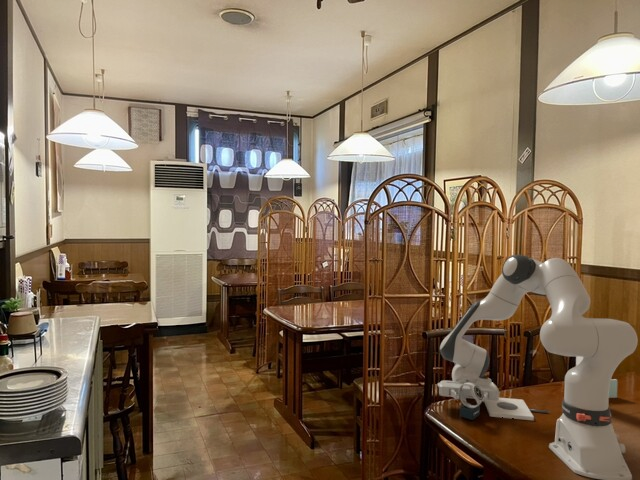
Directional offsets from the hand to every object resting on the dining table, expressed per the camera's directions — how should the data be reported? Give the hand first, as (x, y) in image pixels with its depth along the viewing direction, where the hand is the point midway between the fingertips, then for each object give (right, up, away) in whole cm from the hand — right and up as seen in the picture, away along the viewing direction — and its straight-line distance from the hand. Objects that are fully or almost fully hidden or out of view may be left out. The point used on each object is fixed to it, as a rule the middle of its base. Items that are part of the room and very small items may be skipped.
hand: (470, 398), depth 153 cm
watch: (0, -6, +1) cm, 6 cm away
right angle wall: (+57, -8, +27) cm, 64 cm away
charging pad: (+19, -7, +8) cm, 22 cm away
